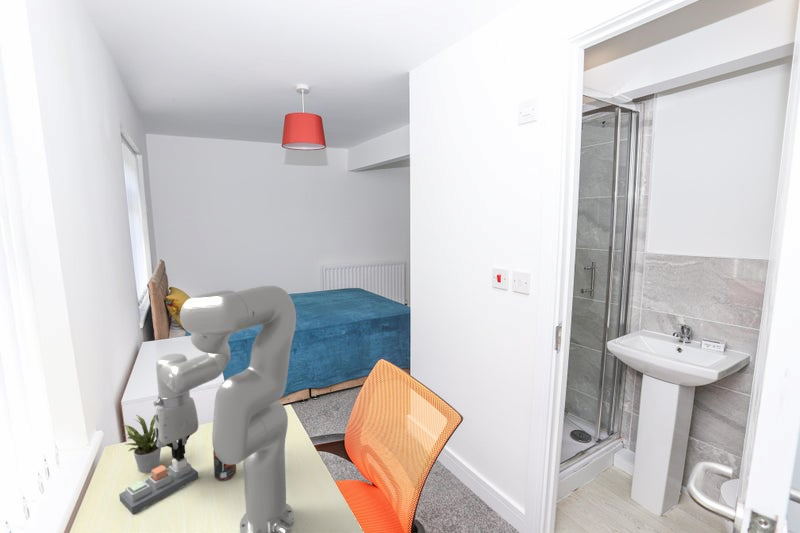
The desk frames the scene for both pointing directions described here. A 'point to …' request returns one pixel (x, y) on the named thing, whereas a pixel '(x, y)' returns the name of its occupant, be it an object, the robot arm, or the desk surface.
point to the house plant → (144, 446)
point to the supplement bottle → (223, 469)
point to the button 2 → (159, 473)
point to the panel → (157, 488)
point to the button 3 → (179, 464)
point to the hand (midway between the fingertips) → (178, 458)
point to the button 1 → (137, 486)
